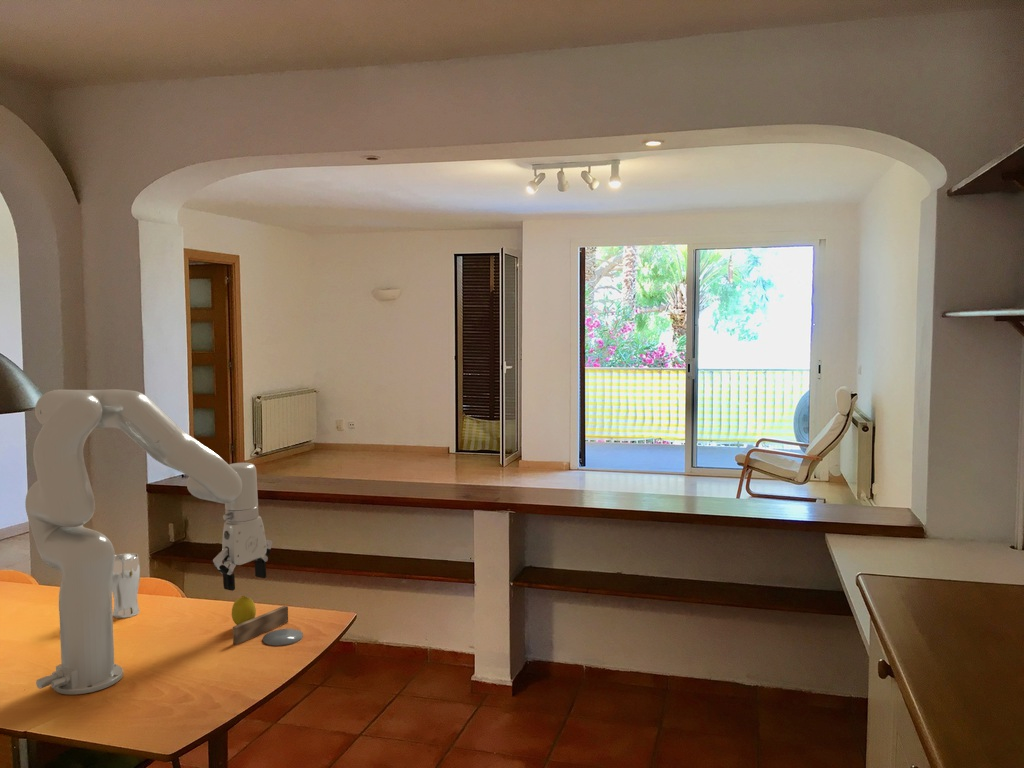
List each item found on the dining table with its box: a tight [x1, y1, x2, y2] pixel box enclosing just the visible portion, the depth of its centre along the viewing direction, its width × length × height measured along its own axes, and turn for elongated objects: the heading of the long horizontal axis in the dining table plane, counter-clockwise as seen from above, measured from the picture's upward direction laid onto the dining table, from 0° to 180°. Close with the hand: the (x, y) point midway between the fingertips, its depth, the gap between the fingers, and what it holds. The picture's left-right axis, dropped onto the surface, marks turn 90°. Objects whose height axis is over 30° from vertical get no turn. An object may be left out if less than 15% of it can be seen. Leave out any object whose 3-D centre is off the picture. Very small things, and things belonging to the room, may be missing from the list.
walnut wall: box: [232, 605, 289, 646], centre depth 184 cm, size 16×1×4 cm, turn 151°
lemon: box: [231, 595, 257, 626], centre depth 187 cm, size 6×6×8 cm
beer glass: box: [112, 552, 141, 619], centre depth 196 cm, size 7×7×15 cm
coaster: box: [262, 628, 304, 647], centre depth 181 cm, size 9×9×1 cm
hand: (245, 583), depth 187 cm, fingers open, 9 cm apart
